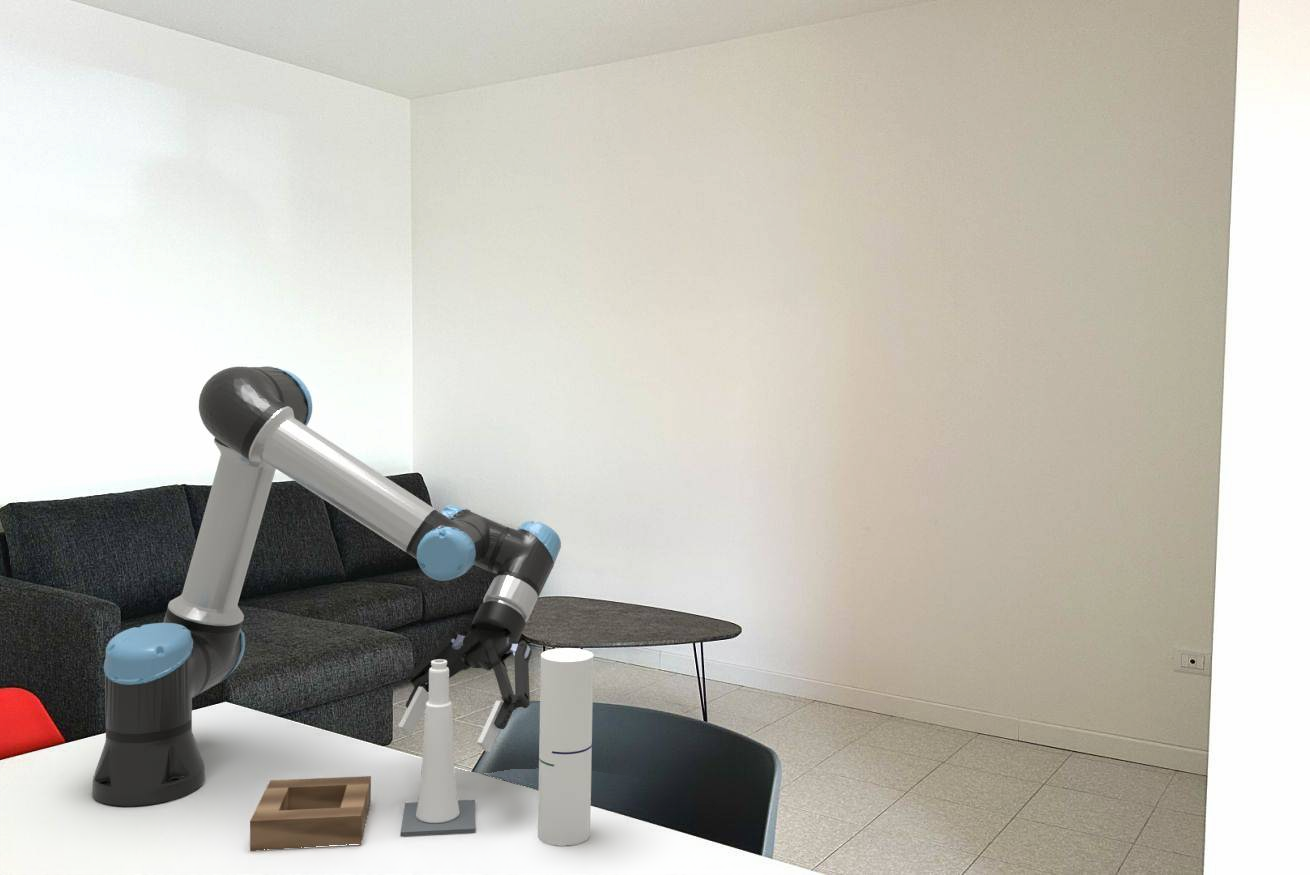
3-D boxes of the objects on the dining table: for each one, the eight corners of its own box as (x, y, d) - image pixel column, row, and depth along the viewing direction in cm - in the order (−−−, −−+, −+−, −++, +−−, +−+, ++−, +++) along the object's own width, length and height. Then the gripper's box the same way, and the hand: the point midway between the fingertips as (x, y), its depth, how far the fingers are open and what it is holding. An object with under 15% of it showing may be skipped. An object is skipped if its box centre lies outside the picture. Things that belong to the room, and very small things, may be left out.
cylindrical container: (582, 848, 141) (585, 663, 139) (530, 842, 142) (533, 659, 141) (595, 826, 148) (599, 650, 146) (546, 821, 149) (549, 646, 148)
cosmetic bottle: (444, 826, 145) (445, 669, 144) (407, 819, 147) (408, 663, 146) (467, 810, 151) (469, 658, 149) (431, 803, 153) (432, 653, 152)
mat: (405, 806, 153) (405, 802, 153) (475, 803, 155) (475, 799, 155) (400, 836, 143) (400, 832, 143) (475, 832, 145) (475, 828, 145)
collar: (270, 807, 152) (270, 780, 151) (370, 802, 154) (370, 776, 154) (250, 851, 138) (250, 821, 138) (360, 845, 140) (361, 815, 140)
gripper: (584, 636, 158) (528, 767, 145) (448, 617, 169) (385, 737, 156) (566, 608, 153) (507, 741, 140) (427, 590, 164) (361, 712, 151)
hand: (443, 739), depth 148 cm, fingers open, 13 cm apart
